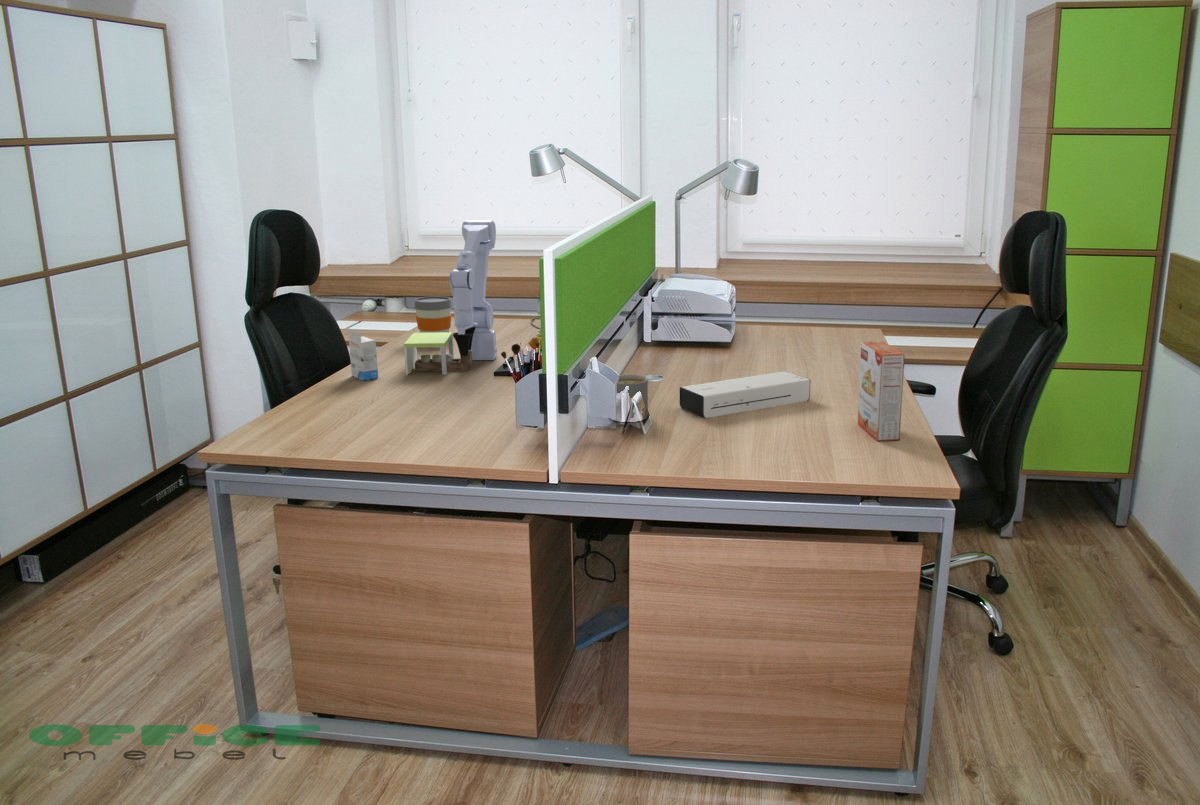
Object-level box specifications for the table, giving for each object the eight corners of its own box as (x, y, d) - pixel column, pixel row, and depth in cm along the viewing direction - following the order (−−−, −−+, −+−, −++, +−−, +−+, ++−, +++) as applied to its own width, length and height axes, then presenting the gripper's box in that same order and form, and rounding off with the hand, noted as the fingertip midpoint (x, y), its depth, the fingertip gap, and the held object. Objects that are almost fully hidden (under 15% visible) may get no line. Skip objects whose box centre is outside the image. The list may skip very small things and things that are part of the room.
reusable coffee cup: (450, 345, 344) (448, 302, 340) (413, 346, 344) (410, 302, 340) (456, 338, 356) (453, 295, 352) (420, 338, 356) (417, 296, 352)
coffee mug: (640, 410, 264) (640, 373, 261) (653, 420, 255) (652, 382, 252) (591, 415, 261) (590, 377, 258) (601, 425, 251) (601, 386, 249)
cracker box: (855, 424, 249) (860, 341, 244) (879, 423, 250) (884, 340, 244) (875, 441, 236) (880, 354, 230) (900, 440, 236) (906, 353, 231)
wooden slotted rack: (472, 366, 315) (472, 350, 313) (470, 370, 310) (470, 354, 308) (418, 367, 315) (417, 351, 313) (415, 371, 310) (414, 355, 309)
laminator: (702, 420, 256) (703, 396, 255) (677, 408, 267) (677, 385, 265) (809, 401, 271) (810, 379, 270) (781, 391, 282) (782, 369, 280)
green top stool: (453, 362, 320) (452, 332, 317) (446, 374, 304) (444, 343, 302) (415, 362, 320) (413, 332, 317) (406, 375, 305) (403, 343, 302)
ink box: (379, 378, 301) (375, 330, 297) (364, 381, 298) (360, 332, 294) (366, 373, 308) (362, 325, 304) (350, 376, 304) (346, 328, 301)
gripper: (473, 313, 300) (475, 358, 304) (479, 304, 314) (481, 347, 318) (449, 313, 300) (452, 358, 304) (456, 304, 314) (459, 347, 318)
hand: (465, 352), depth 311 cm, fingers open, 7 cm apart
